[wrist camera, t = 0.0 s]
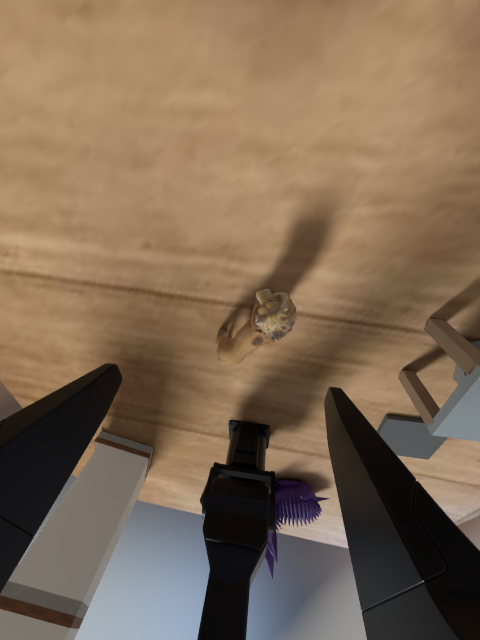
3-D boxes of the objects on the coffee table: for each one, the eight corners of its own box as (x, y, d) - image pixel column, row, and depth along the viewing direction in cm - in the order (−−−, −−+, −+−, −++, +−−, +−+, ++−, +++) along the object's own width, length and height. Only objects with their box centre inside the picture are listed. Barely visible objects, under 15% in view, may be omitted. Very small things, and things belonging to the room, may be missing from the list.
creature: (232, 469, 44) (219, 556, 34) (329, 477, 41) (345, 578, 30) (239, 489, 49) (229, 571, 39) (327, 498, 45) (340, 592, 35)
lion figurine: (267, 259, 21) (262, 294, 15) (305, 284, 21) (314, 326, 15) (210, 340, 27) (190, 387, 21) (240, 357, 28) (230, 408, 22)
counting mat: (426, 455, 33) (428, 459, 32) (367, 447, 34) (369, 451, 33) (453, 422, 28) (457, 427, 28) (385, 414, 29) (387, 418, 29)
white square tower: (101, 430, 44) (-258, 943, 14) (153, 447, 44) (-91, 975, 15) (103, 456, 50) (-144, 848, 21) (149, 470, 50) (-30, 873, 21)
